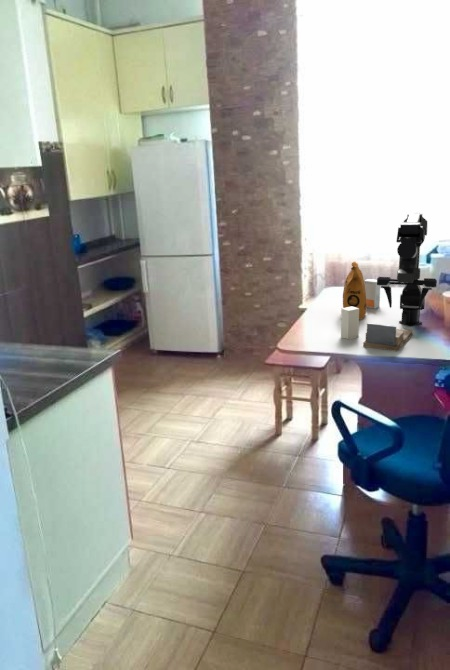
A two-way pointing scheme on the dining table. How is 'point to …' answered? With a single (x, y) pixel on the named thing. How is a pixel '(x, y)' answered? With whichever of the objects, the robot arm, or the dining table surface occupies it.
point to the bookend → (381, 334)
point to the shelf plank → (395, 348)
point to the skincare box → (372, 293)
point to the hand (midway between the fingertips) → (404, 308)
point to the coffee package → (355, 290)
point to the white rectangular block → (349, 322)
